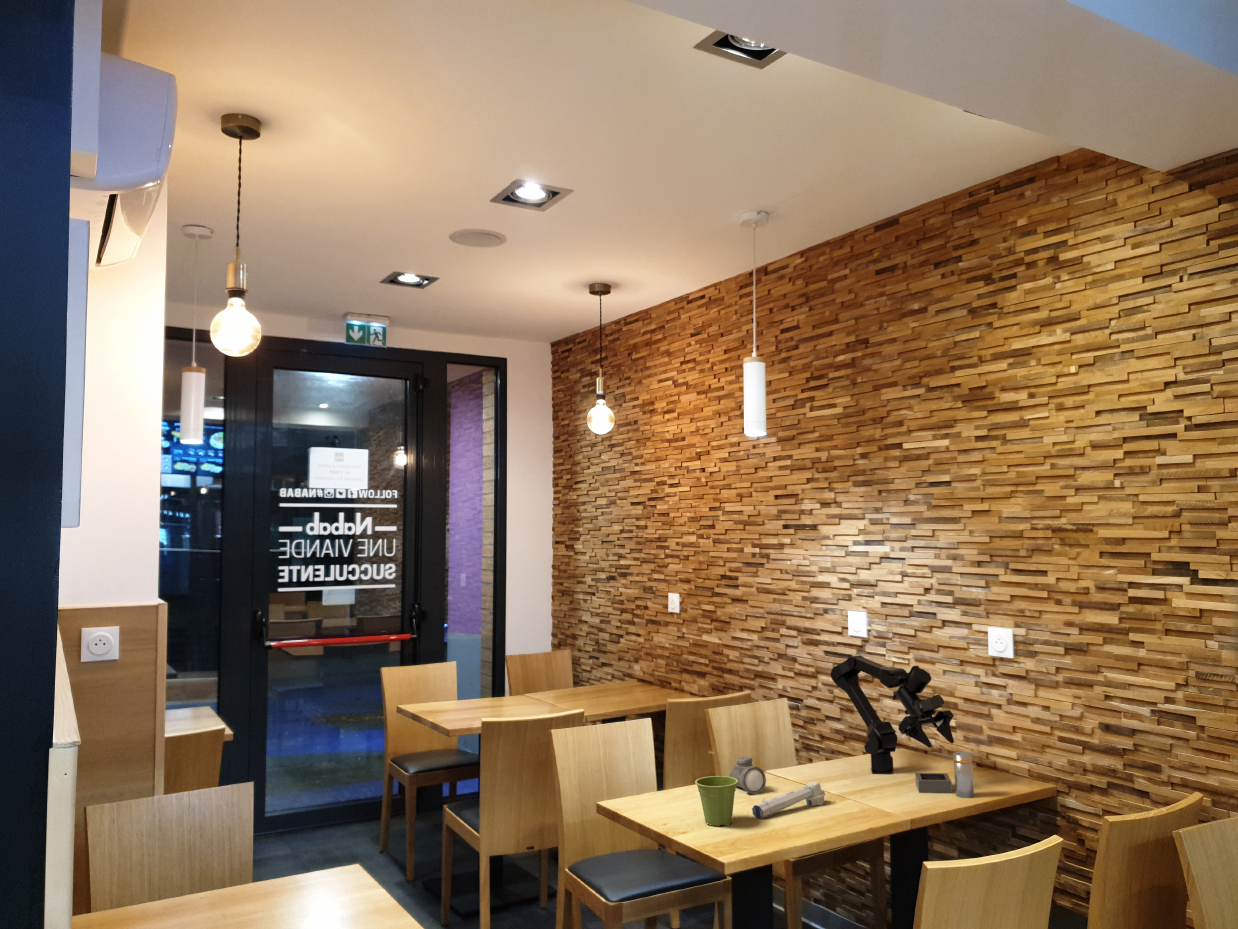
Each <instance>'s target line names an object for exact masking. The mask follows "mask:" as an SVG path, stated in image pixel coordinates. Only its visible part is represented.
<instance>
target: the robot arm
mask: <svg viewBox="0 0 1238 929" xmlns="http://www.w3.org/2000/svg"><path fill="white" fill-rule="evenodd" d="M861 672H862V673H865V674H867V675H869V676H871V677H873V678H875V679H878V680H879V682H880V684H882V685H883V686H884V687H886V688H887V689H893V688H897V689H896V690H893V695H892V701H898V700H899V701H900V703H901V704H902V706H903V708H904V709H905V711H904V714H905V716H904V717H903V719H902V720H901V721H900V723H899V724H898V725H897V726H898V731H899V733H900V734H901V735H905V736H906V737H910V738H911V739H914V740H916V741H918V742H919V743H920V744H923V745H924V746H926V747H927V748H929V749H930V748H932V747H933V745H932V742H931V741H930V739H929V737H928V736H927V734H926V733H925V731H924V730H923V726H925V725H930V724H932V725H933V727H935V728H936V729H935V730H936V731H937V732H938V733H939V735H941V736H942V737H943V738H944V739H945V740H947V741H948V742H949V743H950V744H952V745H953V744H954V743H955V739H954V736H953V734H952V730H951V721H952V720H953V718H954V714H953V713H952V711H951V709H942V710H938V709H939V708H943V705H945V701H944V698H943V697H942V696H941V695H940V694H935V695H933V696H931V697H928V698H926V699H925V698H921V696H920V695H919V694H921V693H923V692H924V690H925V689H926V688H927V687H928V685H929V684H930V682H931V681H932V675H931V674H930V672H928V671H927V670H925V669H924V668H920V666H919V665H912V667H911V668H910V670H909V672H907V670H906V669H904V668H902V667H894V666H886V665H884V664H880V663H878V662H876V661H873V660H871V659H869V658H866V657H865V656H863V655H859V654H858V655H851V656H849V657H848V658H847V659H846V660H843V661H842V662H840V663H839V664H837V665H834V666H833V667H832V669H831V672H830V678H831V679H832V681H833V683H834V684H835V685H836V686H837V687H838V688H839V689H841V690H842V691H844V692H845V693H846V694H847V696H848V698H849V699H850V701H851V702H852V704H853V706H854V707H855V709H856V711H857V713H858V714H859V716H860V718H861V719H862V720H863V722H864V724H865V726H866V727H867V738H868V740H867V742H866V743H865V744H864V750H865V753H867V754H870V770H871V774H885V775H889V774H890V775H891V774H893V771H894V759H893V756H892V752H894V753H895V752H896V749H897V743H898V735H897V733H896V732H897V731H896V730H895V729H894V727H893V726H892V723H891V722H890V721H888V720H887V721H882V719H881V718H880V717H879V715H878V713H877V712H876V711H875V708H874V707H873V705H872V704H871V702H870V701H869V699H868V697H867V695H866V694H865V693H864V691H863V688H861V686H860V685H859V683H860V681H859V680H860V676H859V674H860V673H861ZM936 710H938V712H937V713H936ZM935 713H936V714H935ZM934 714H935V715H934ZM933 715H934V716H933Z"/></svg>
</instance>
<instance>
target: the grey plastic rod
mask: <svg viewBox="0 0 1238 929" xmlns="http://www.w3.org/2000/svg"><path fill="white" fill-rule="evenodd" d="M825 796H826V793H825V791H824V790H823V789H822V787H821V784H820V783H819V781H817V780H813V781H809V782H807V784H806V785H805V786H804V787H800V788H797V789H795V790H791V791H789V792H785V793H783V794H780V795H777V796H775V797H772V798H769V799H766V800H765V799H762V800H761V801H760V802H759V803H756V804H755V805H753V806H752V808H751V810H752V815H753V817H754V818H755V819H758V820H762V819H765V818H768V817H769V818H770V817H772V815H775V814H777V813H778V812H780V811H782V810H784V809H787V808H789V807H792V806H793V805H795V804H798V803H799V802H802V801H804V800H805V803H806V805H807V806H810V807H815V806H822V805H824V803H826V802H825V801H826V800H825Z"/></svg>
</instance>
